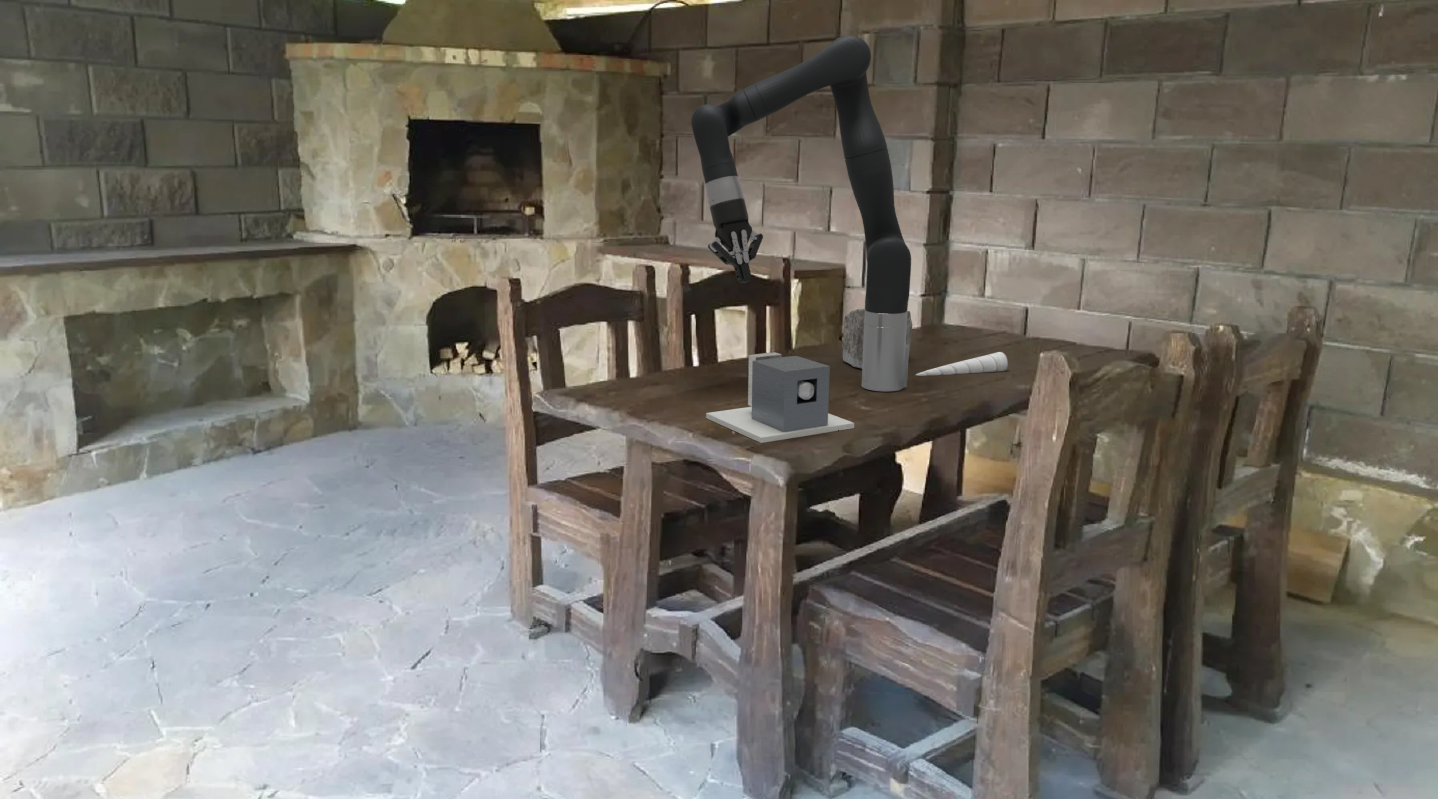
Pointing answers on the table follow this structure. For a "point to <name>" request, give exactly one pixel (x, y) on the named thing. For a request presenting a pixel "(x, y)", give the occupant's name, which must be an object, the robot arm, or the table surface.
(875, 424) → the table surface
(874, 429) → the table surface
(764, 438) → the base plate
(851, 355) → the petrified wood
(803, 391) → the shaft
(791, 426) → the block
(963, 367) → the unicorn horn
